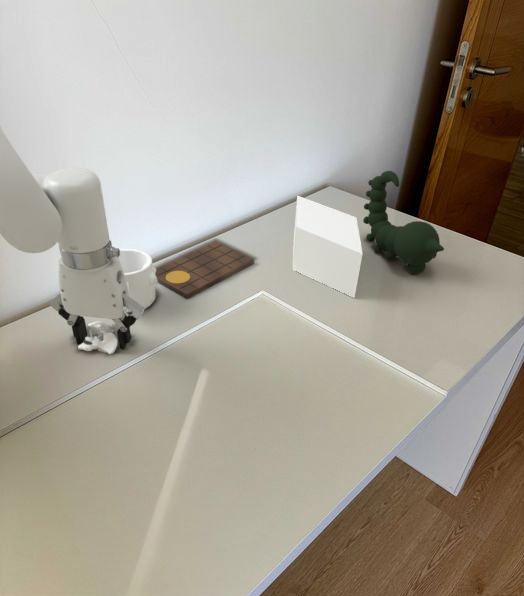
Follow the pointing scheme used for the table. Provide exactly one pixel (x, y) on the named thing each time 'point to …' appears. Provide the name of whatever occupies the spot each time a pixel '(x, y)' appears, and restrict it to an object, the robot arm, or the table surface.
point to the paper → (327, 246)
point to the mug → (139, 276)
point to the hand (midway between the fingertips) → (103, 341)
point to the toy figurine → (398, 230)
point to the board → (201, 269)
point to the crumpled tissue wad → (102, 330)
